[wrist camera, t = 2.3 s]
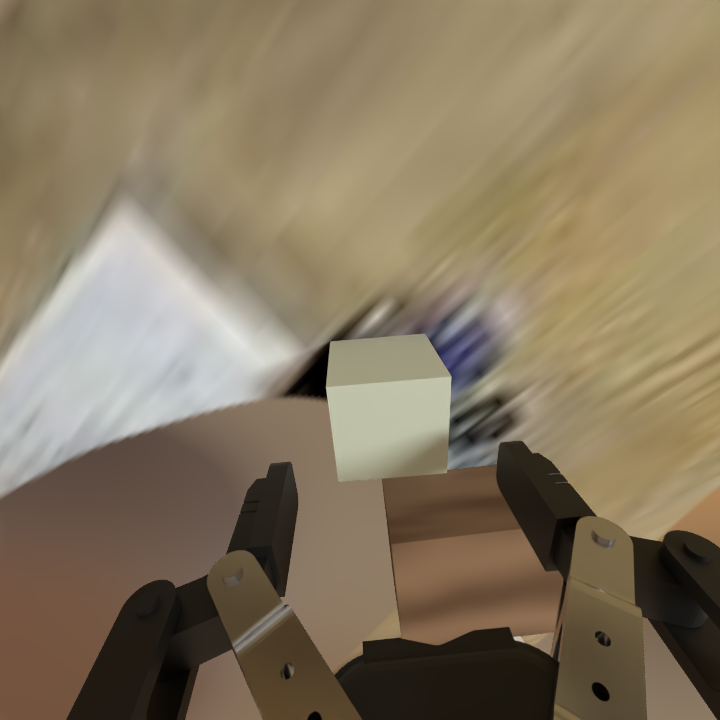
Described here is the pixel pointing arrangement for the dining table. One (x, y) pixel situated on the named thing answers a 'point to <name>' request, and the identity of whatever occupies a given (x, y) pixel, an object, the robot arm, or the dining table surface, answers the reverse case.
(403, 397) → the sage cube
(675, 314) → the dining table surface
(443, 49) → the dining table surface
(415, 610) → the walnut block
